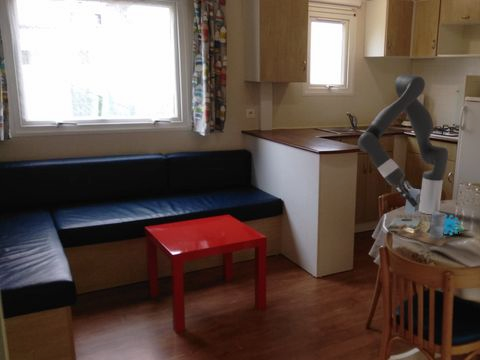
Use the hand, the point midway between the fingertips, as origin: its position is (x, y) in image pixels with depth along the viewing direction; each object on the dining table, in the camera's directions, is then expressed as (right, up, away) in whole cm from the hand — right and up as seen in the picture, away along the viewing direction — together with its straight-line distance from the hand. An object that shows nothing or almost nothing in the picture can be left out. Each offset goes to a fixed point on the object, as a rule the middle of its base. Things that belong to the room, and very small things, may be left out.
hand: (417, 204), depth 184 cm
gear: (+17, -13, +8) cm, 23 cm away
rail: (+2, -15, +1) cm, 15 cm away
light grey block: (-2, -4, +2) cm, 5 cm away
